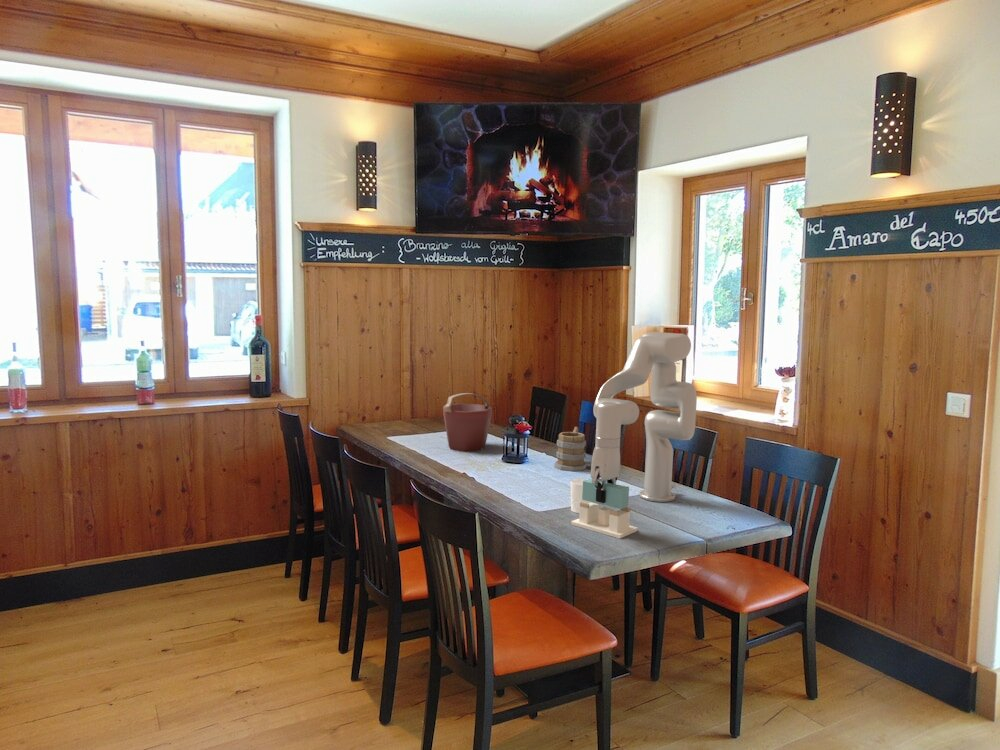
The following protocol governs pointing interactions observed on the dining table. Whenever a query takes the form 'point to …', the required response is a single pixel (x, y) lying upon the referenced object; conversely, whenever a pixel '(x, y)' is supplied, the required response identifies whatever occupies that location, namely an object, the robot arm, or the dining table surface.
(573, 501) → the white cup
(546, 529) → the dining table surface
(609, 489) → the teal bar
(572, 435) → the tankard
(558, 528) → the dining table surface
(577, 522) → the stand
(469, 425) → the bucket
